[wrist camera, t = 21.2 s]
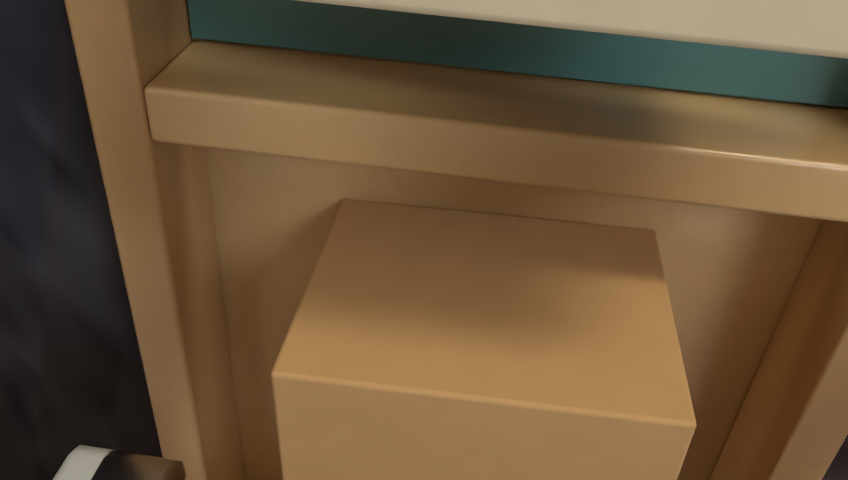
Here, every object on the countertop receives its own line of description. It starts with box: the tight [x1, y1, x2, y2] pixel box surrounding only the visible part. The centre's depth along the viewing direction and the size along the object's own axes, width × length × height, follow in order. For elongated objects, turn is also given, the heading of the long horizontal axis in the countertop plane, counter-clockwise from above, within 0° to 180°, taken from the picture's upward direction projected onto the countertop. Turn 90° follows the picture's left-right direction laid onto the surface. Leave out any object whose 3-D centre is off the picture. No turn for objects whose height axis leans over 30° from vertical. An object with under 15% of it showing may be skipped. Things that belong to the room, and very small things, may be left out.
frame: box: [64, 0, 848, 480], centre depth 10 cm, size 11×21×2 cm, turn 177°
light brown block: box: [271, 199, 697, 480], centre depth 12 cm, size 5×6×4 cm
